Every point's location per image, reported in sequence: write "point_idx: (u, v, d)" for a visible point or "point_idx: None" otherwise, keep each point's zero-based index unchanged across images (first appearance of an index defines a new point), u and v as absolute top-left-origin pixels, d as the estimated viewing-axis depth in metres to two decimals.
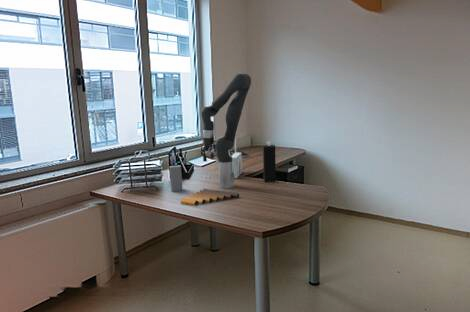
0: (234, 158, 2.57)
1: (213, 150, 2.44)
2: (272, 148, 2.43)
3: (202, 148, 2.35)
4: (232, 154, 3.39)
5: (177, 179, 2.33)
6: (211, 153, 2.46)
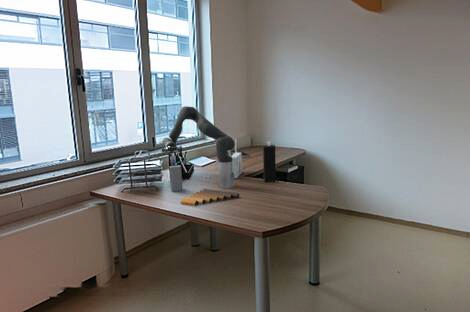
0: (234, 158, 2.57)
1: None
2: (272, 148, 2.43)
3: None
4: (232, 154, 3.39)
5: (177, 179, 2.33)
6: (178, 150, 2.47)
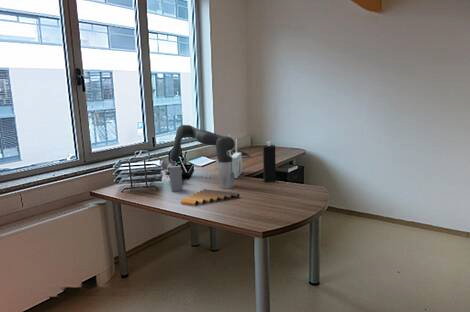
0: (234, 158, 2.57)
1: None
2: (272, 148, 2.43)
3: (165, 173, 2.50)
4: None
5: (177, 179, 2.33)
6: None
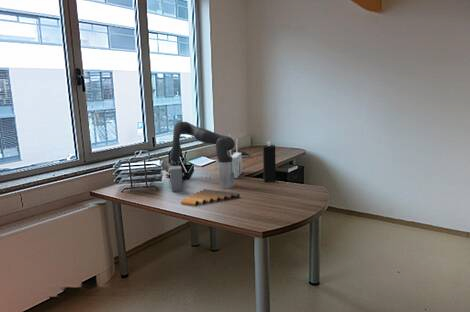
0: (234, 158, 2.57)
1: None
2: (272, 148, 2.43)
3: (166, 176, 2.41)
4: None
5: (177, 180, 2.31)
6: None
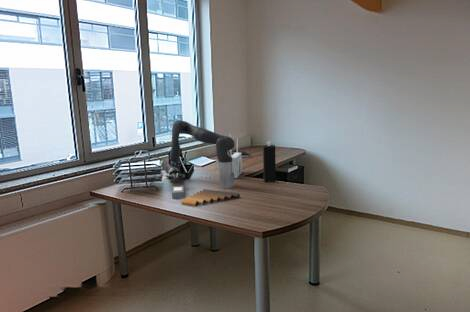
0: (234, 158, 2.57)
1: (177, 174, 2.37)
2: (272, 148, 2.42)
3: (167, 177, 2.37)
4: None
5: None
6: None
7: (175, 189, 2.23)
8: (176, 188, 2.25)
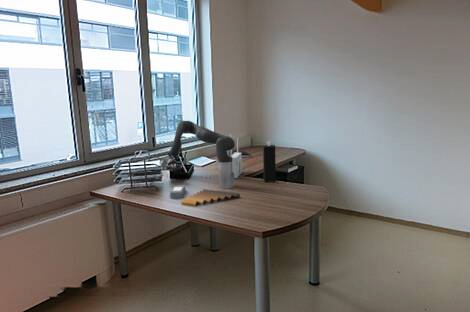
0: (234, 158, 2.57)
1: (174, 165, 2.50)
2: (272, 148, 2.43)
3: (165, 168, 2.49)
4: None
5: None
6: None
7: (174, 189, 2.23)
8: (176, 188, 2.26)
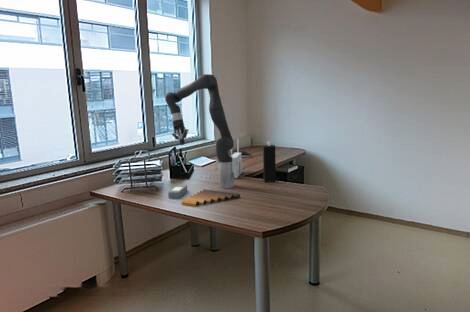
0: (234, 158, 2.57)
1: (180, 134, 2.45)
2: (272, 148, 2.43)
3: None
4: None
5: None
6: None
7: (174, 189, 2.24)
8: (176, 188, 2.26)
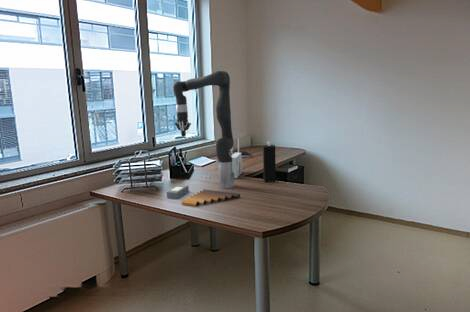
0: (234, 158, 2.57)
1: (182, 126, 2.45)
2: (272, 148, 2.43)
3: None
4: None
5: None
6: None
7: (174, 189, 2.24)
8: (176, 188, 2.26)
